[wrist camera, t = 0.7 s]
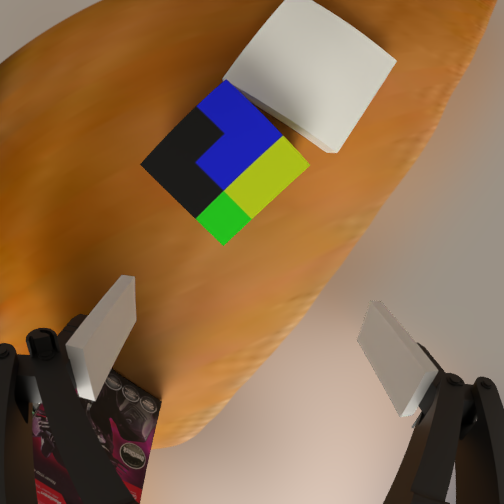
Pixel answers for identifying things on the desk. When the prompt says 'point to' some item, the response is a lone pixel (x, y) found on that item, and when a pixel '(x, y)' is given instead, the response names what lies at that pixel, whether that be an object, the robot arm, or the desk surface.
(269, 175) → the puzzle toy
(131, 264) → the desk surface
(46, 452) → the graphics card box
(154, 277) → the desk surface
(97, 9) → the desk surface
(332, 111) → the plinth
